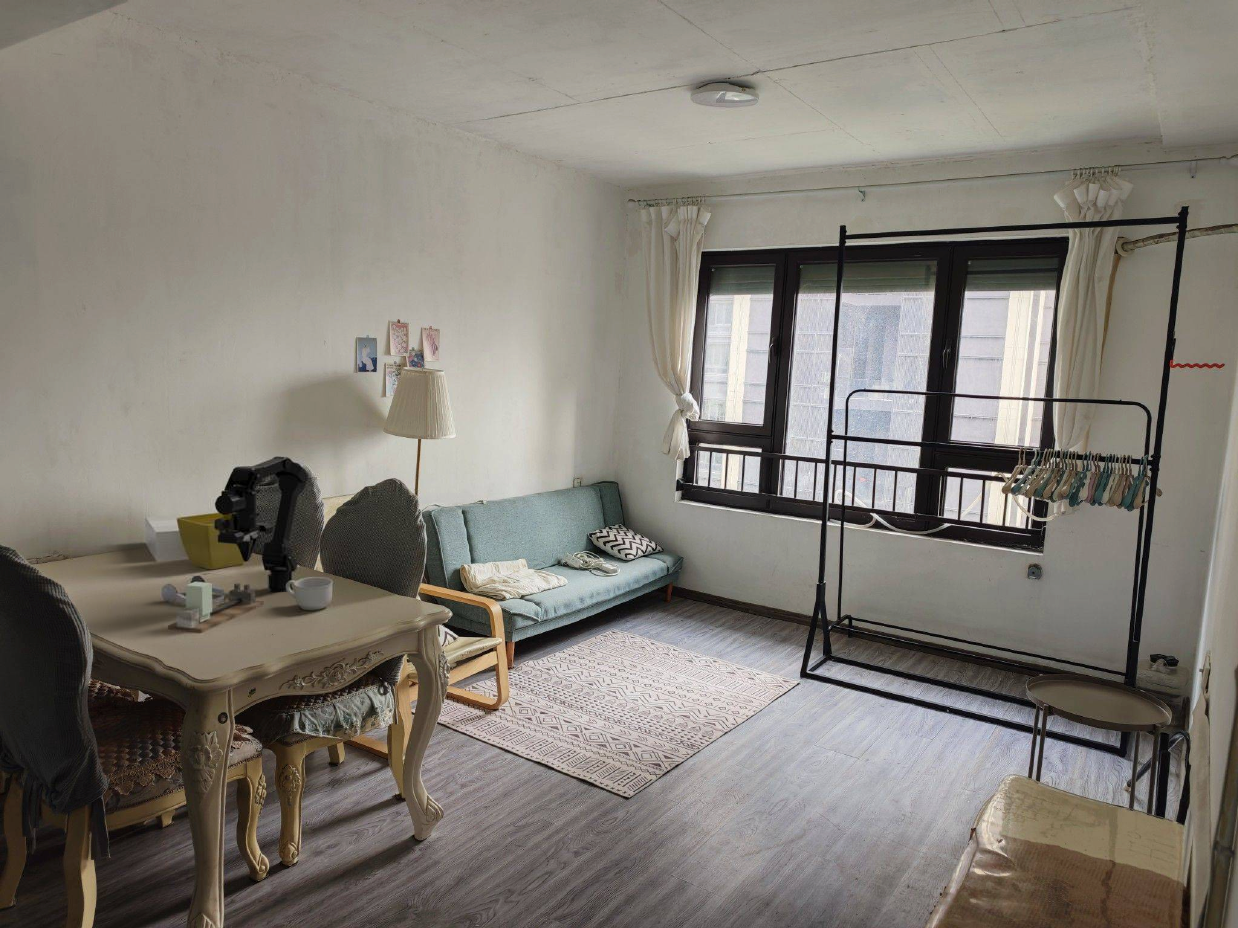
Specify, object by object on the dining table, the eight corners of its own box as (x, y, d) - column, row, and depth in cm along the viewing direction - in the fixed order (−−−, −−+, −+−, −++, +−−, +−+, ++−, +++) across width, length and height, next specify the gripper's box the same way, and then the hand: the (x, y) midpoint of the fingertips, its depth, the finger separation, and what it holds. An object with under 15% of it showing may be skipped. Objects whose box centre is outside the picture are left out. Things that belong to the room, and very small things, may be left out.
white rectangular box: (145, 544, 325) (145, 516, 324) (176, 541, 331) (176, 514, 330) (156, 562, 299) (155, 532, 298) (189, 559, 305) (189, 529, 304)
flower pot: (175, 564, 296) (175, 517, 294) (227, 555, 312) (227, 510, 310) (205, 573, 286) (205, 524, 284) (257, 564, 301) (257, 518, 299)
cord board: (233, 601, 256) (233, 580, 255) (263, 604, 254) (263, 583, 253) (167, 629, 228) (167, 605, 227) (201, 632, 226) (200, 609, 226)
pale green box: (196, 616, 236) (195, 581, 234) (212, 618, 235) (211, 583, 233) (186, 620, 232) (185, 585, 230) (202, 622, 231) (202, 586, 230)
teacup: (340, 605, 257) (340, 579, 256) (316, 614, 247) (316, 587, 246) (302, 599, 261) (302, 573, 260) (277, 608, 251) (277, 581, 250)
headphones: (144, 596, 253) (197, 616, 248) (147, 578, 252) (200, 598, 247) (191, 583, 270) (241, 601, 264) (193, 566, 269) (243, 584, 263)
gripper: (240, 502, 261) (241, 552, 263) (200, 512, 243) (200, 565, 245) (273, 505, 259) (273, 555, 261) (235, 515, 241) (235, 569, 243)
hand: (246, 561), depth 252 cm, fingers closed
